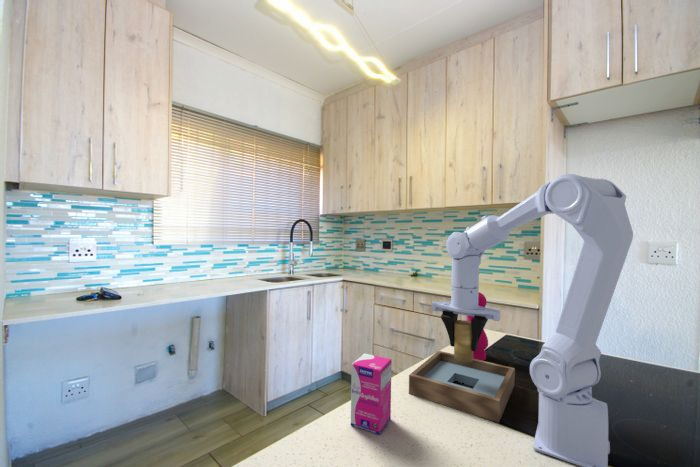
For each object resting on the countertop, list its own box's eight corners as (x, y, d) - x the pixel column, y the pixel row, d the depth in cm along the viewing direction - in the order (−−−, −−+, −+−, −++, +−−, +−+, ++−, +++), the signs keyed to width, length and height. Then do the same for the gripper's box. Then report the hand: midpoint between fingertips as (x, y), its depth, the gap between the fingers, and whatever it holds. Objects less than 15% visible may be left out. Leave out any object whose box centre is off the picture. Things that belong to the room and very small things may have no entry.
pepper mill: (491, 363, 87) (492, 289, 87) (463, 361, 88) (464, 287, 88) (484, 353, 94) (485, 284, 94) (458, 351, 95) (459, 283, 95)
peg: (475, 357, 72) (475, 322, 72) (470, 363, 69) (470, 326, 69) (457, 353, 75) (457, 319, 75) (451, 359, 72) (452, 323, 71)
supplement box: (349, 426, 58) (350, 362, 58) (363, 410, 63) (364, 352, 63) (379, 436, 55) (380, 369, 55) (391, 419, 60) (392, 357, 60)
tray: (514, 385, 74) (514, 368, 74) (498, 422, 60) (499, 401, 59) (438, 365, 85) (438, 350, 85) (408, 393, 70) (409, 375, 70)
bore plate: (508, 385, 74) (509, 377, 74) (494, 418, 61) (494, 407, 61) (440, 368, 83) (440, 360, 83) (415, 392, 70) (415, 383, 70)
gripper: (503, 287, 71) (502, 349, 71) (439, 281, 79) (438, 336, 79) (497, 292, 65) (496, 359, 65) (428, 284, 74) (427, 344, 74)
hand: (463, 347), depth 72 cm, fingers closed on peg, 4 cm apart
